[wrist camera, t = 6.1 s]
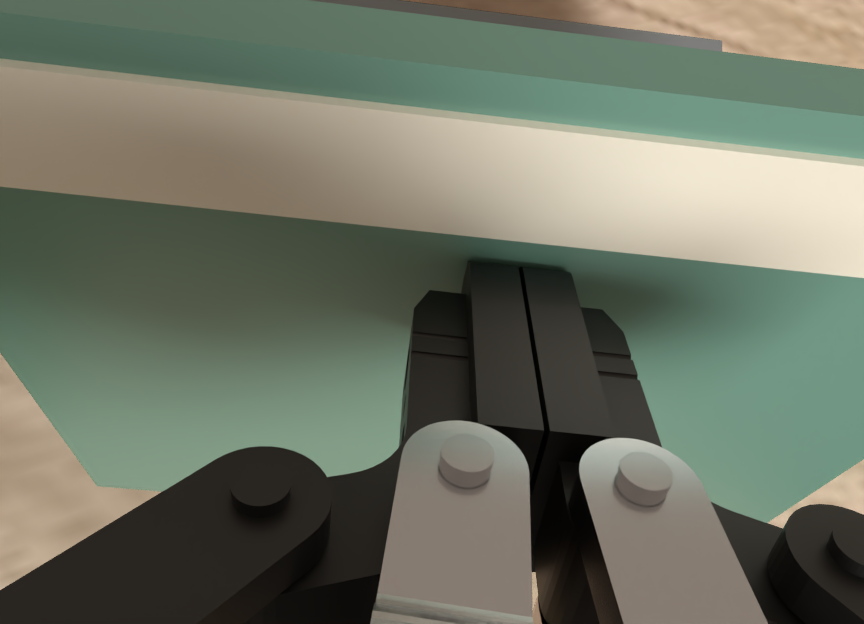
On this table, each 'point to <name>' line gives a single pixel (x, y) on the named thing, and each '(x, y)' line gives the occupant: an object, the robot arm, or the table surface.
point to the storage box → (534, 23)
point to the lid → (416, 228)
